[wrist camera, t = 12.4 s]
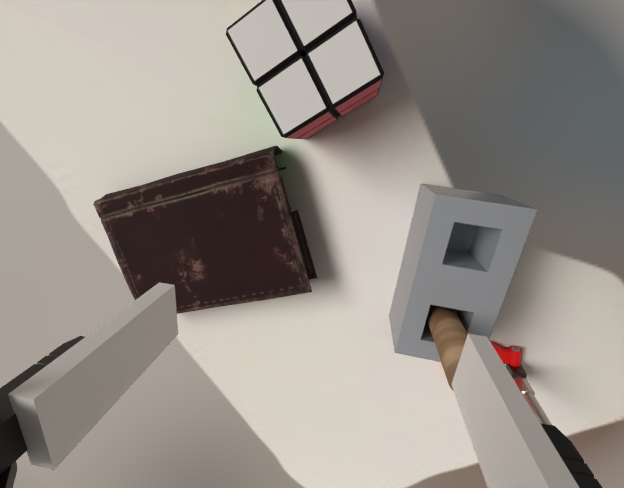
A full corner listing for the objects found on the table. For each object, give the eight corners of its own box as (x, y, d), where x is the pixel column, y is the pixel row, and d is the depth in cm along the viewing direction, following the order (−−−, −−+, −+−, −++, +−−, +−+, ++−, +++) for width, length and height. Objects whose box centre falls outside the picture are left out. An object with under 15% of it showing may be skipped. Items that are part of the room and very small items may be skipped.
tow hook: (442, 386, 45) (513, 391, 43) (465, 474, 33) (565, 488, 31) (445, 336, 43) (520, 339, 41) (471, 411, 31) (580, 422, 29)
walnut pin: (423, 285, 38) (454, 360, 25) (450, 290, 38) (495, 368, 25) (418, 308, 39) (443, 391, 26) (444, 313, 39) (483, 400, 26)
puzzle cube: (380, 94, 34) (386, 75, 25) (303, 140, 37) (282, 140, 28) (337, 2, 32) (327, -55, 23) (259, 59, 35) (221, 29, 26)
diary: (117, 192, 44) (88, 198, 39) (281, 145, 38) (270, 145, 34) (166, 308, 49) (144, 326, 44) (318, 281, 43) (313, 298, 38)
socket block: (420, 183, 36) (435, 194, 29) (500, 195, 35) (537, 209, 28) (389, 315, 42) (394, 352, 35) (457, 328, 41) (477, 369, 34)
